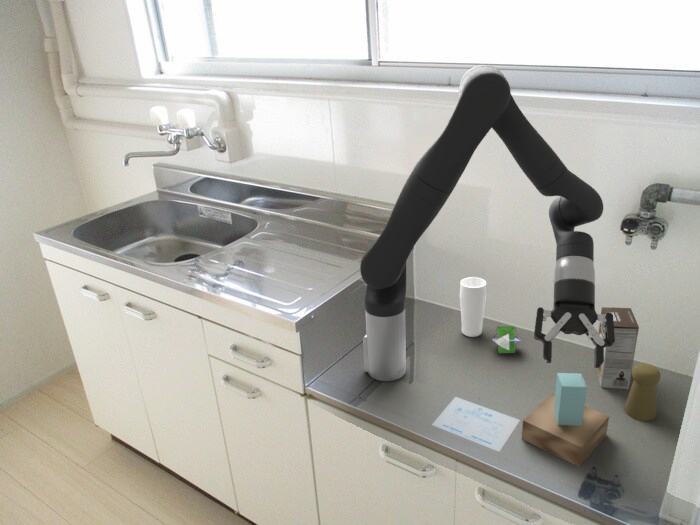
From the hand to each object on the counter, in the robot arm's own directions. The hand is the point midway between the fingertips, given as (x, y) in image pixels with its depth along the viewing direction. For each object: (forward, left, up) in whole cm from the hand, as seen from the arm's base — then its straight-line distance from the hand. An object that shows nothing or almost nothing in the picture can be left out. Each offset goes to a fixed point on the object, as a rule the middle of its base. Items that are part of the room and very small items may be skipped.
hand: (572, 364), depth 111 cm
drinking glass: (-33, +30, -18) cm, 49 cm away
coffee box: (+3, +27, -18) cm, 33 cm away
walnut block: (0, +1, -18) cm, 18 cm away
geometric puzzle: (-22, +26, -18) cm, 39 cm away
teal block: (0, +1, -13) cm, 13 cm away
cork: (+11, +17, -18) cm, 27 cm away
